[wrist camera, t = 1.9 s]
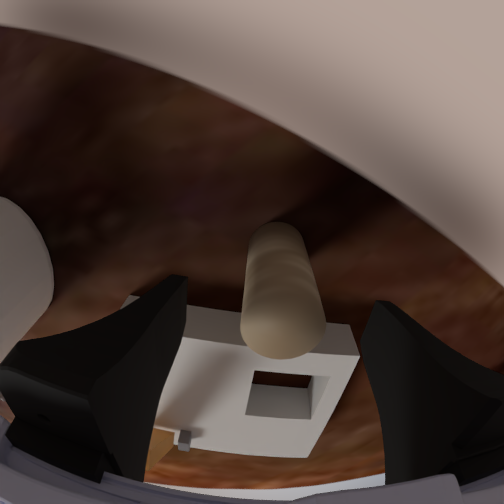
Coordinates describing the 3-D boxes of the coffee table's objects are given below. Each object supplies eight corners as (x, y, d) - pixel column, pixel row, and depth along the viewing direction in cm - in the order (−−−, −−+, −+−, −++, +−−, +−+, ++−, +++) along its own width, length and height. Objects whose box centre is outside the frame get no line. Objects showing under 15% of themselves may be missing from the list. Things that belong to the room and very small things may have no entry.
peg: (309, 226, 17) (336, 297, 10) (298, 275, 18) (314, 362, 11) (252, 217, 16) (246, 286, 10) (245, 268, 18) (235, 354, 11)
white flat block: (349, 324, 19) (365, 370, 15) (304, 429, 24) (307, 469, 20) (129, 294, 19) (103, 335, 15) (144, 408, 24) (131, 446, 20)
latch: (150, 450, 13) (148, 470, 12) (174, 432, 20) (173, 446, 19) (113, 440, 13) (111, 460, 12) (148, 426, 20) (147, 441, 19)
